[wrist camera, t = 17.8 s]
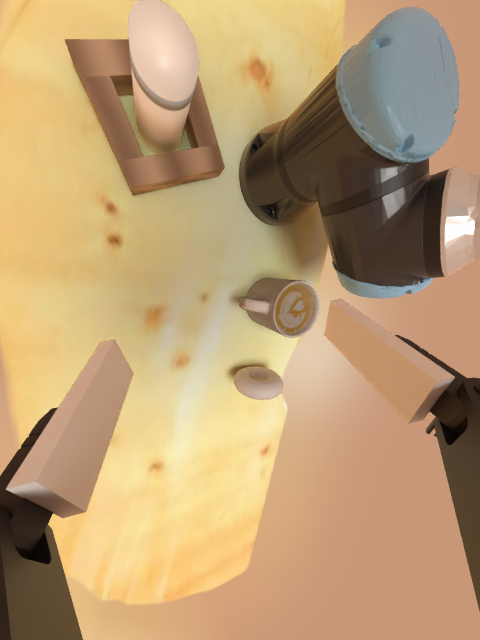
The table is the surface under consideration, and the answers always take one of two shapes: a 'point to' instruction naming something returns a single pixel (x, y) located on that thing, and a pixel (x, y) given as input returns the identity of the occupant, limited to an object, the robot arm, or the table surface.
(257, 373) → the donut
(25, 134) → the table surface
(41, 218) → the table surface
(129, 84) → the cradle
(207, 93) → the table surface
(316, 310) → the coffee mug
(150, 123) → the white cylinder
